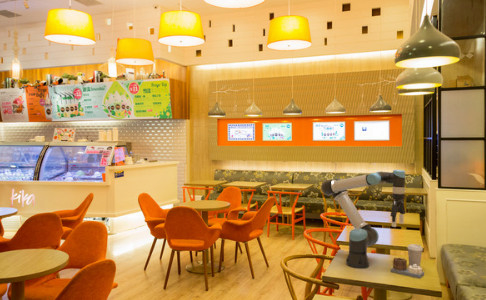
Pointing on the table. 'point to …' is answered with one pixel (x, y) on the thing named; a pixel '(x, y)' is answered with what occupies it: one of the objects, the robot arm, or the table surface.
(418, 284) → the table surface
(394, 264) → the walnut gear
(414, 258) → the coffee cup
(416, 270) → the gear board
